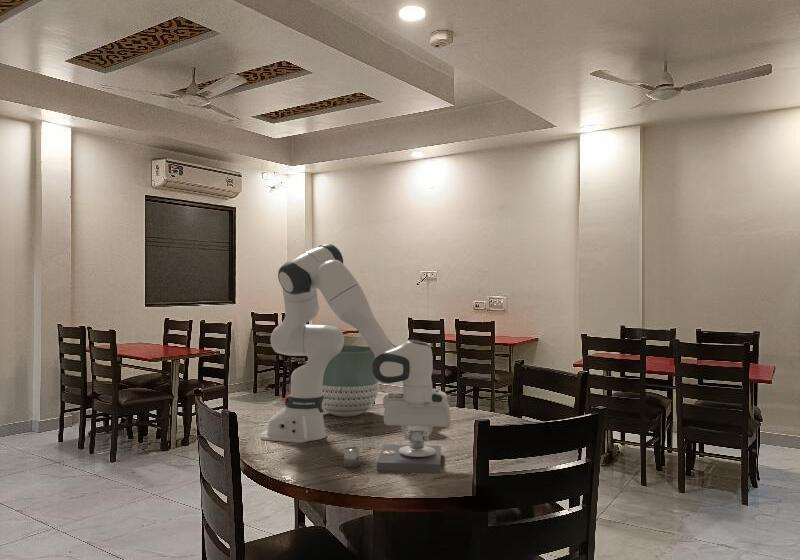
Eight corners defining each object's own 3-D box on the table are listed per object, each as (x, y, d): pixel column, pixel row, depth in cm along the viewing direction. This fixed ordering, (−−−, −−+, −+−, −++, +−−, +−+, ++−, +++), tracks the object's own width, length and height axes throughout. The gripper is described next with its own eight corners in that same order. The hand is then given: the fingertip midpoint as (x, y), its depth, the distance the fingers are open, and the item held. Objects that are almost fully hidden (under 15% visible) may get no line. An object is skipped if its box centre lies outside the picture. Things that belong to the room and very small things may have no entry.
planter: (313, 408, 266) (314, 345, 266) (376, 407, 269) (377, 345, 269) (311, 422, 239) (312, 352, 239) (381, 421, 242) (382, 352, 242)
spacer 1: (343, 468, 181) (344, 451, 181) (344, 463, 185) (344, 446, 185) (358, 468, 181) (359, 451, 181) (359, 463, 185) (359, 447, 185)
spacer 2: (409, 448, 185) (409, 432, 186) (409, 445, 190) (410, 428, 190) (423, 449, 185) (424, 432, 185) (424, 445, 190) (424, 429, 190)
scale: (377, 471, 178) (377, 458, 178) (384, 452, 198) (384, 440, 198) (440, 473, 177) (440, 460, 177) (440, 454, 197) (440, 442, 197)
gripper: (382, 395, 185) (381, 441, 185) (451, 397, 184) (450, 444, 184) (384, 391, 192) (383, 436, 191) (451, 393, 190) (450, 439, 190)
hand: (416, 440), depth 188 cm, fingers closed on spacer 2, 4 cm apart
